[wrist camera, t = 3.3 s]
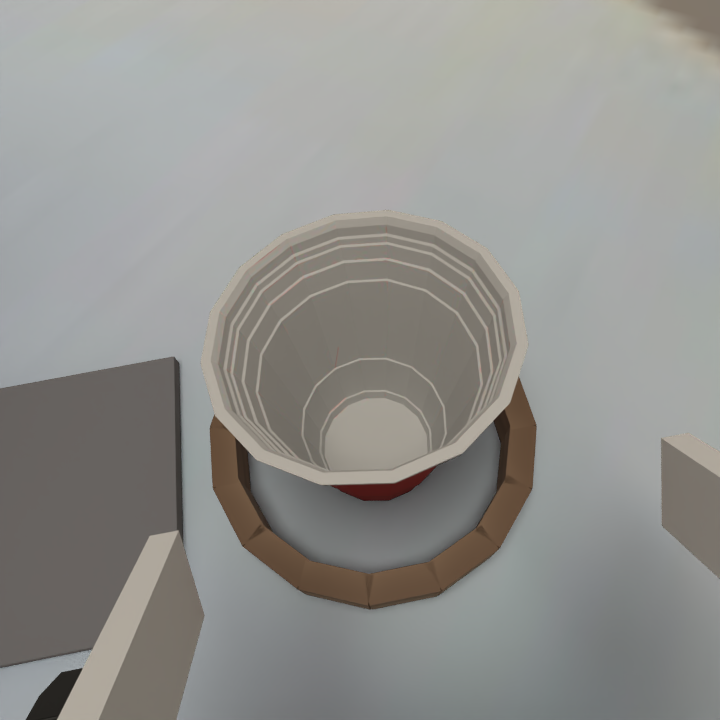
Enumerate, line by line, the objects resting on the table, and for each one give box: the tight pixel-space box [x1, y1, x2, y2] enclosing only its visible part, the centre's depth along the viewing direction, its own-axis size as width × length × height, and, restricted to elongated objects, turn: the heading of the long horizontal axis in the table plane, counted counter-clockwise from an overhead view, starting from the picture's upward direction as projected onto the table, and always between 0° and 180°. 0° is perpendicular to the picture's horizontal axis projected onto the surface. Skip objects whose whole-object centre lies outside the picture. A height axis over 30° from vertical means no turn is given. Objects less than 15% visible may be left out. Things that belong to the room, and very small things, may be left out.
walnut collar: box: [210, 376, 537, 610], centre depth 27 cm, size 15×18×4 cm
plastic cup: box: [201, 210, 528, 501], centre depth 23 cm, size 11×11×12 cm
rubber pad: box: [0, 357, 183, 668], centre depth 27 cm, size 14×14×1 cm
